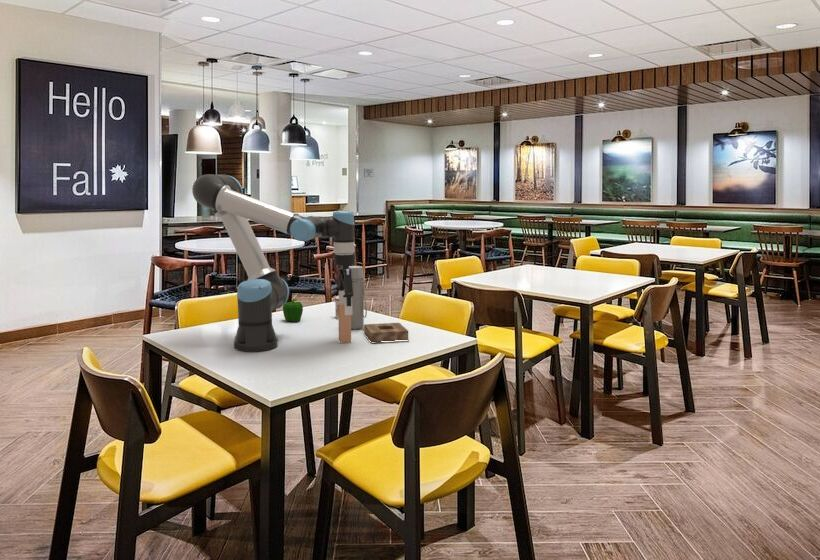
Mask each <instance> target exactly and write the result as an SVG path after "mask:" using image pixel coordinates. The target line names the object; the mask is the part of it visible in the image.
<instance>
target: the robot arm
mask: <svg viewBox="0 0 820 560" xmlns="http://www.w3.org/2000/svg"><path fill="white" fill-rule="evenodd" d="M191 189H192V196H193V198H194V200H195V201H196V203H197V204H199V205H200V206H203V207H205V208H208V209H211V210H212V212H213V214H214V216H215V217H216V218H220V220H221V222H222V224H223V226H224V229H225V231H226V232H227V235H228V236H229V238H230V241H231V243H232V245H233V247H234V249H235V251H236V253H237V255H238V257H239V261H241V263H242V266H243V267H244V270H245V272H246V275H247V276H248V278H247V280H244V281H241V282H240V283H239V284H238V286H237V290H236V291H237V292H236V298H237V319H238V320H237V322H238V327H237V330H236V334H235V337H234V341H233V346H234V347H233V348H234V349H235V350H237V351H240V352H251V353H252V352H265V351H269V350H273V349H275V348H277V347H278V345H279V342H278V337H277V335H276V332H275V329H274V326H273V311H275V310H278V309H280V308H281V307H283V304H284V303H285V302H288V300H289V296H290V287H289V285H288V283H287V282H286V280H285V279H283V278H282V277H280V276H279V274H278V272H277V270H276V269H274V268H273V267H271V266H270V265H269V262H268V260H267V258H266V256H265V254H264V251H263V250H262V248H261V245H260V244H259V242H258V239H257V237H256V234H255V233H254V231H253V228H252V226H251V224H250V222H249V221H252V222H254V223H257V224H260V225H263V226H266V227H268V228H270V229H273V230H276V231H278V232H281V233H284V234H287V235H289V236H291V237H292V238H293V239H294V240H296V241H299V242H308V241H310V240H312V239H313V240H314V239H316V238H333V253H334V255H333V260H334V261H333V263H334V265H335V266H338V267H337V268H338V276H337V278H338V279H337V288H338V296H339V304H344V303H345V315H353V310H352V296H353V287H352V277H351V269H349V266H354V265H355V263H356V254H354V253H355V249H356V247H357V244H355V218H354V216H355V215H354V212H353V211H351V210H334V211H333V212H332V215H331V216H320V215H318V216H314V215H307V216H302V215H300V214H297V213H294V212H291V211H289V210H286V209H283V208H281V207H278V206H276V205H273V204H270V203H268V202H265V201H263V200H260V199H257V198H254V197H252V196H249V195H246V194H243V193H244V191H243V186H242V185H241V182H239V180H238V179H236V178H235V177H234V176H231V175H228V174H223V173H222V174H221V173H220V174H211V173H210V174H209V173H208V174H203V175H200V176H199V177H198V178H196V180H194V182H193V185H192V188H191Z"/></svg>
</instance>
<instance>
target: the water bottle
mask: <svg viewBox="0 0 820 560" xmlns="http://www.w3.org/2000/svg"><path fill="white" fill-rule="evenodd" d="M349 269H351V277H352V287H353V296H352V310H353V315H351V330H354V329H355V330H362V328H364V324H365V323H364V322H365V320H364V318H367V316H368V313H367V312H368V308H367V298H366V290H365V283H366V280H367V279H366V278H365V277H364V267H363V266H362V265H361V266H360V265H349ZM364 307H365V308H364ZM364 312H365V314H364Z"/></svg>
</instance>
